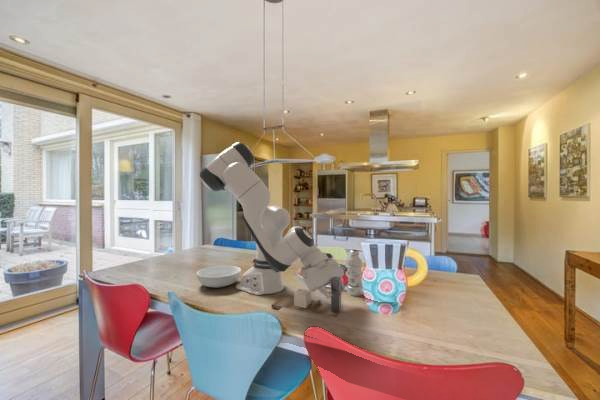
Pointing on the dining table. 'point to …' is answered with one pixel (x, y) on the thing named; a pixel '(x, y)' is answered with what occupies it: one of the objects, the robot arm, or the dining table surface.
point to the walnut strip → (317, 302)
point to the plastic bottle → (354, 274)
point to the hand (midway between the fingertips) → (337, 293)
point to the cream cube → (302, 298)
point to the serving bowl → (218, 276)
